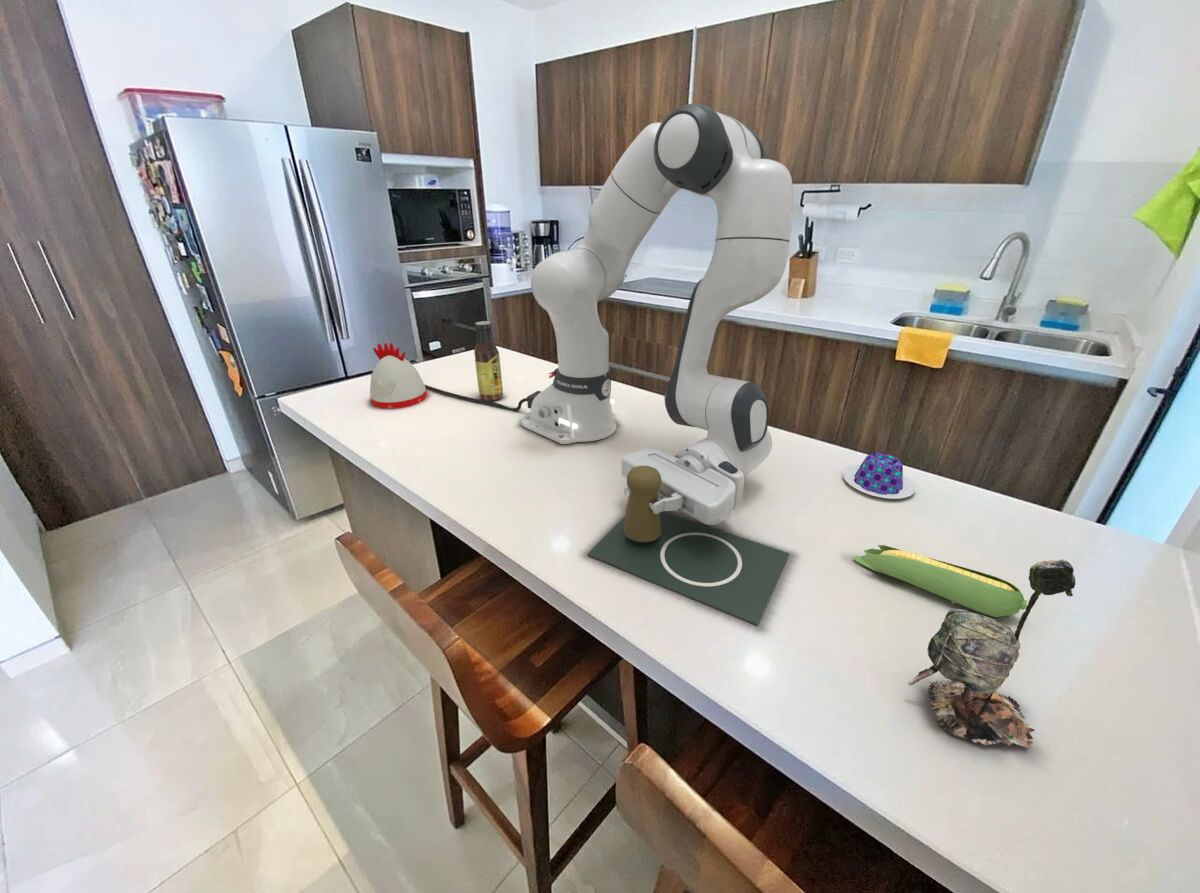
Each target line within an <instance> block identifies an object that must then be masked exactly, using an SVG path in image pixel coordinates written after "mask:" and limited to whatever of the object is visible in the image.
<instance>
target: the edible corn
mask: <svg viewBox="0 0 1200 893" xmlns="http://www.w3.org/2000/svg"><path fill="white" fill-rule="evenodd" d="M877 547H878V549H877V548H868V549H865V550H863V552H864V555H863V554H862V555H860V556H851V558H852V559H853V560H854V561H856V562H857V563H858V564H861V565H862V566H864V567H867V568H868V569H870V570H872V571H874V572H876V573H881V574H882V575H885V576H888V577H890V578H892V579H893V578H894V579H896V580H899V581H901V582H904V583H907V584H909V585H912V586H913V587H916V588H918V589H921V590H923V591H926V592H928V593H930V594H933V595H935V596H938V597H940V598H942V599H944V600H947V601H949V602H950V603H952V601H956V602H955V603H954V604H956V605H958V606H961V607H964V608H967V609H969V610H972V611H974V612H977V613H978V614H981V615H984V616H987V617H988V616H989V617H990V618H991V617H992V618H1005V617H1010V616H1012V615H1013V616H1014V615H1016V614H1018V613H1019V612H1020V611H1021V610H1022V611H1025V610H1026V607H1027V605H1028V600H1027V599H1025V598H1024V594H1023V593H1022V592H1021V590H1020V589H1019V588H1018V587H1017V586H1016V585H1015V584H1012V583H1011V582H1009V581H1007V580H1005V579H1002V578H1000V577H998V576H994V575H991V574H987V573H984V572H982V571H978V570H974V569H971V568H967V567H964V566H960V565H956V564H953V563H949V562H947V561H942V560H939V559H935V558H931V557H928V556H924V555H921V554H917V553H914V552H910V551H906V550H902V549H899V548H896V547H892V546H889V545H885V544H877Z"/></svg>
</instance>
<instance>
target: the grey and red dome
mask: <svg viewBox="0 0 1200 893" xmlns="http://www.w3.org/2000/svg"><path fill="white" fill-rule="evenodd" d="M376 345H377V346H376V347H377V348H376V347H373V348H372V350H373V353H374V354H375V355H376V357H377V358H378V359H379V360H378V362H377V363H376V365H375V366H374V368H373V370H372V373H371V377H370V384H369V394H370V401H371V404H372V405H373V406H374V407H377V408H379V409H400V408H406V407H410V406H414V405H417V404H419V403H421V402H423V401H424V400H426V398H427V396H428V394H427V388H425V385H426V384H425V383H424V380H423V379H422V377H421V375H420V373H419V372H418V370H417V368H416V367H415V366H414V365H413V364H412V363H411V362H410V361H409V360H407V358H405V356H406V351H404V352H402V353H401V354H400V347H396V348H395V347H394V343H393V342H391V343H389V344H388V343H387V342H385V343H383V346H382V345H381V343H377V344H376ZM388 345H389V346H388Z"/></svg>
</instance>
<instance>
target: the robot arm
mask: <svg viewBox="0 0 1200 893" xmlns="http://www.w3.org/2000/svg"><path fill="white" fill-rule="evenodd" d="M766 153H767V152H766V148H765V146H764V144H763V142H762V140H761V139H760V137H759V136H758V135H757V134H756V133H755V132H754V131H753V130H751V129H749V128H747V127H746V126H745V125H744V124H743V123H742V122H740V121H739V120H737V119H736V118H735V117H733V116H730V115H727V114H724V113H721V112H718V111H715V110H714V109H713V108H712V107H710V106H708V105H704V104H698V103H686V104H682V105H679V106H677V107H675V108H674V109H672V110H671V111H670V112H669V113H668V114H667V115H666V116H665V117H664V118H663V119H662V121H661V122H652V123H650V124H648V125H646V127H644V128H643V129H642V130H641V131H640V133H639V134H638V135H637V136H636V137H635V138H634V140H633V141H632V142H631V143H630V145H628V146H627V148H626V150H625V151H624V152H623V153H622V155H621V157H620V158H619V159H618V161H617V162H616V164H615V166H614V167H613V169H612V170H611V172H610V174H609V175H608V177H607V179H606V180H605V182H604V183H603V186H602V187H601V189H600V190H599V192H598V194H597V195H596V197H595V198H594V200H593V202H592V204H591V205H590V207H589V209H588V212H587V218H588V224H587V228H586V232H585V235H584V237H583V239H582V240H581V242H580V243H579V244H578V245H577V246H576V247H574V248H572V249H568V250H562V251H557V252H555V253H552V254H551V255H549V256H547V257H546V258H544V259H543V260H541V261H540V262H539V263H538V264H536V266H535V267H534V268H533V270H532V273H531V277H530V289H531V292H532V295H533V297H534V299H535V301H536V303H537V304H538V305H539V306H540V307H541V308H542V309H544V310H545V312H546V313H547V314H548V316H549V319H550V321H551V324H552V327H553V330H554V335H555V341H556V349H557V350H556V351H557V361H558V362H557V366H558V367H556V368H555V369H554V370H553V371H551V372H549V373H548V375H549V376H548V378H549V379H552V378H553V377H554V378H553V381H552V383H551V384H550V385H549V386H547V387H546V388H544V389H543V390H542V391H541V390H536V391H534V392H532V393H531V394H529V395H528V396H526V397H524V398H522V399H520V400H519V402H518V405H517V406H516V407H509V406H507V405H504V404H501V403H499V402H494V401H485V400H482V399H480V398H474V397H470V396H465V395H461V394H457V393H452V392H449V391H445V390H442V389H439V388H436V387H434V386H430V385H427V384H424V385H425V388H426V390H431V391H433V392H436V393H440V394H443V395H447V396H450V397H452V398H453V397H454V398H457V399H461V400H466V401H470V402H474V403H479V404H484V405H490V406H493V407H498V408H501V409H504V410H507V411H511V412H518V411H520V410H521V408H522V405H523V403H525V402H527V403H526V404H527V409H530V412H529V413H527V414H526V415H525V416H524V417H523V418H522V420H521V427H523V428H525V429H528V430H529V431H531V432H534V433H536V434H539V435H540V436H543V437H545V438H546V439H550V440H552V441H554V442H555V443H558V444H561V445H569V444H574V443H581V442H583V443H584V442H585V443H586V442H595V441H599V440H603V439H606V438H608V437H610V436H612V435H613V434H614V433H615V432H616V430H617V424H616V421H615V418H614V412H613V408H612V405H613V404H615V399H611V393H612V392H611V391H612V370H611V367H610V336H609V333H608V331H607V329H606V328H605V327H604V326H603V325H602V324H601V320H600V317H599V316H600V315H599V312H598V302H600V301H603V300H605V299H607V298H609V297H611V296H612V295H614V293H616V292H617V291H618V290H619V289H620V288H621V286H622V285H623V284H624V281H625V279H626V274H627V270H628V267H629V265H630V263H631V261H632V258H633V256H634V255H635V253H636V251H637V249H638V247H639V245H640V244H641V243H642V241H643V240H644V238H645V237H646V236H647V235H648V233H649V231H650V230H651V228H653V225H654V224H655V223H656V221H657V220H658V219H659V217H660V215H661V214H662V213H663V211H664V210H665V209H666V207H667V206H668V204H669V203H670V201H671V199H672V198H673V197H674V196H675V195H676V193H678V192H679V191H681V189H682V190H686V191H688V192H690V193H692V194H694V195H697V196H700V197H709V198H711V199H712V200H713V202H714V203H715V207H716V211H717V220H716V221H717V222H716V230H715V237H714V246H713V247H714V248H713V252H712V255H711V260H710V262H709V264H708V267H707V269H706V271H705V274H704V275H703V277H702V278H700V279H699V280H698V282H696V284H695V286H694V288H693V291H692V292H691V295H690V299H689V302H688V305H687V310H686V314H685V319H684V322H683V327H682V331H681V337H680V340H679V345H678V348H677V354H676V359H675V363H674V367H673V370H672V372H671V376H670V379H669V380H668V383H667V385H666V388H665V392H664V396H663V398H664V400H663V401H664V406H665V410H666V412H667V415H668V416H669V419H670V420H671V421H672V422H673V423H675V424H677V425H679V426H685V427H691V428H697V429H699V430H700V429H701V430H704V431H707V435H706V437H705V438H703V439H701V440H698V441H696V442H694V443H691V444H690V445H688V446H686V447H684V448H681V449H680V450H678V452H676V454H675V455H674V454H670V453H669V452H667V451H665V450H663V449H661V448H658V447H654V446H651V447H645V448H641V449H637V450H633V451H631V452H628V453H626V454H624V455H622V458H621V462H620V471H621V472H620V473H621V475H622V476H623V477H624V478H626V479H627V475H628V473H629V471H630V470H631V469H632V468H634V467H637V466H651V467H653V468H655V469H657V470H658V472H659V473H660V475H661V480H662V481H661V486H660V488H659V490H658V491H657V493H658V497H656V498H655V499H654V500H652V501H650V502H649V510H650V511H651V512H653V513H654V514H658V513H660V512H662V511H664V512H676V511H678V510H680V511H682V512H684V513H686V514H687V515H689V516H690V517H692V518H694V519H696V520H697V521H699V522H701V524H703V525H706V526H717V525H718V524H720V523H722V522H724V520H726V519H728V518H729V517H730V516H731V515H732V513H733V512H734V511H736V510H738V509H739V508H740V507H741V503H742V498H743V493H744V485H745V484H744V483H745V476H747V475H748V474H750V473H751V472H753V471H754V470H756V469H757V468H758V467H760V466H761V464H763V462H764V461H765V460H766V459H767V458H768V457H769V455H770V453H771V451H772V447H773V446H772V445H773V439H772V435H771V432H770V431H769V429H768V427H769V418H770V412H769V411H770V408H769V405H768V400H767V398H766V394H764V392H763V389H761V386H759V385H758V384H757V383H755V382H754V381H753V382H752V381H747V380H743V379H737V378H732V377H724V376H719V375H715V374H710V373H709V371H708V363H709V358H710V355H711V351H712V347H713V344H714V340H715V334H716V331H717V328H718V326H719V324H720V322H721V321H722V320H723V319H724V317H726V316H727V315H728V314H730V313H731V312H733V311H735V310H737V309H739V308H742V307H744V306H747V305H749V304H752V303H755V302H757V301H759V300H762V298H764V297H765V296H767V295H768V294H769V293H771V292H772V291H773V290H774V289H775V288H776V287H777V286H778V285H779V283H780V282H781V280H782V278H783V277H784V276H783V275H784V273H785V271H786V267H787V263H788V258H789V256H788V255H789V252H790V251H789V250H790V242H791V237H792V236H791V234H792V228H793V206H794V198H793V197H794V195H793V190H794V189H793V179H792V175H791V174H792V173H791V172H790V170H789V169H788V168H787V166H785V165H784V164H783V163H781V162H779V161H776V160H775V159H769V158H767V154H766ZM629 493H630V490H629V488H628V486H627V485H625V486H624V488H623V495H624V496H625V497H627V498H629Z"/></svg>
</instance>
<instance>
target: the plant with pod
mask: <svg viewBox="0 0 1200 893" xmlns="http://www.w3.org/2000/svg"><path fill="white" fill-rule="evenodd" d="M1074 572H1075V569H1074V568H1073V566H1072V564H1071V563H1070V562H1069V561H1068V560H1067V559H1056V560H1054V559H1053V560H1042V561H1039V562H1038V561H1037V562H1036V563H1035V564H1033V565H1031V567H1030V568H1029V573H1028V574H1029V575H1028V581H1029V586H1030V588H1031V589H1032V590H1033V591H1034V592H1033V593H1032V594H1031V596H1030V597H1029V600H1028V602H1027V605H1026V608H1025V610H1024V611H1023V612H1022V614H1021V617H1020V619H1019V620H1018V623H1017V626H1016V630H1015V631H1013V629H1012V628H1011V627H1009V626H1006V625H1005V624H1002V623H1000V622H999V621H998V620H995V619H994V618H991V617H990V616H989V617H988V616H987V615H984V614H981V613H976V612H973V611H969V610H967V609H960V608H950V610H949V611H948V612H946V614H945V617H944V619H943V622H942V623H941V625H940V628H939V629H938V631H937V632H936V633H934V635H933V636H932V637H931V638H930V640H929V642H928V644H927V650H926V651H927V656H928V658H929V659H930V661H931V662H932V665H931V666H930V667H929V668H925V669H923V670H921V671H919V672H918V674H917V675H916V676H915V677H913V678H912V679H910V681H907V685H908V686H913V685H915V684H916V683H918V682H920V681H921V680H924V679H926V678H928V677H930V676H933V675H934V674H937V673H938V672H939V673H940V674H941V675H942V676H943V677H944V678H945V679H947V680H946V681H945V680H944V679H942V681H941V679H940V680H939V679H938V680H936V681H929V683H930V684H929V687H927V688H928V692H929V694H928V695H929V696H930V705H933V707H932V708H931V709H932V710H933V713H934V714H935V718H936V719H935V720H936V722H937V721H938V725H940V726H941V727H942V728H943V730H945V731H947V732H949V734H951V735H952V736H955V737H957V736H958V737H959V738H962V739H965V740H967V739H968V740H969V741H972V742H973V743H980V744H981V745H984V746H986V745H987V746H989V745H992V744H993V745H999V744H1000V743H1002V744H1004V745H1006V746H1009V747H1011V746H1012V745H1013V744H1015V745H1017V746H1021V747H1024V748H1026V749H1029V748H1030V746H1031V745H1032V744H1033V742H1032V741H1031V740H1033V739H1034V737H1033V736H1032V735H1031V734H1030V733H1033V732H1035V731H1036V729H1035V728H1031V727H1030V724H1028V723H1027V721H1026V720H1025V719H1027V718H1026V717H1025V715H1023V712H1022V708H1020V707H1021V704H1020V703H1019V702H1018V701H1017V700H1015V699H1014V698H1013V697H1011V696H1010V695H1008V696H1007V695H1004V694H1003V693H1002V694H1001V693H998V692H997V691H998V689H999V688H1001V687H1002V685H1003V684H1004V682H1005V681H1006V679H1008V678H1009V677H1010V672H1011V670H1012V669H1013V668H1014V665H1015V663H1016V662H1017V661H1018V659H1019V658H1020V652H1019V650H1020V649H1021V643H1020V635H1021V631H1022V629H1023V628H1024V624H1025V622H1026V621H1027V618H1028V616H1029V615H1030V613H1031V610H1032V608H1034V605H1036V603H1037V601H1038V599H1039V598H1040V596H1041V595H1043V596H1053V595H1056V594H1061V593H1064V592H1065V595H1066V596H1067V597H1073V596H1074V594H1073V589H1075V587H1076V584H1077V582H1076V576H1075V575H1074ZM955 602H956V601H952V602H951V603H952V604H956V603H955Z"/></svg>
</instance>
